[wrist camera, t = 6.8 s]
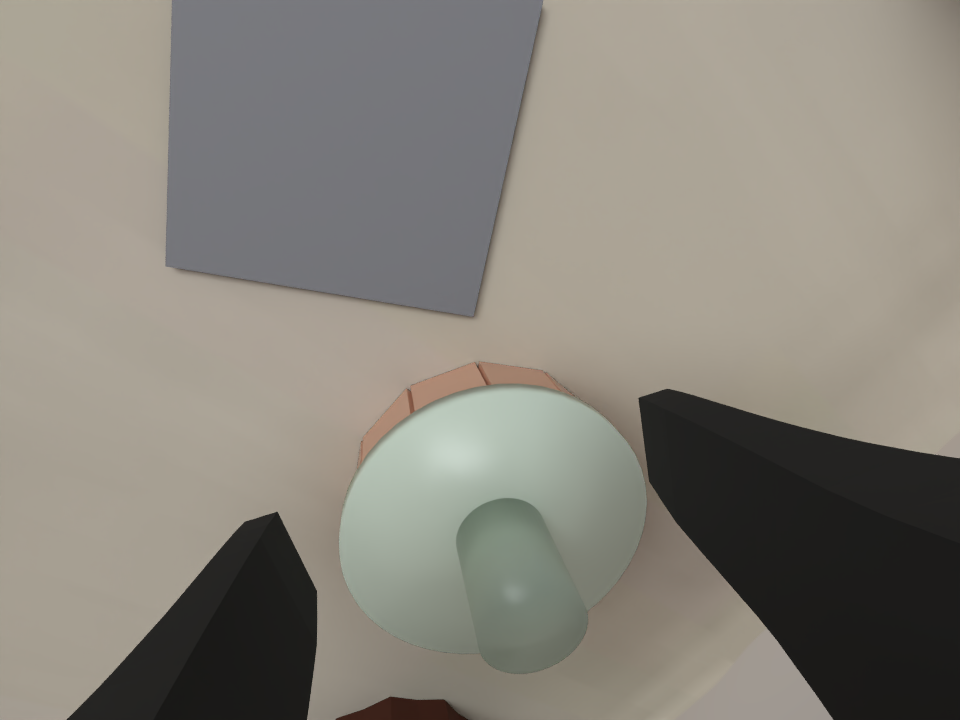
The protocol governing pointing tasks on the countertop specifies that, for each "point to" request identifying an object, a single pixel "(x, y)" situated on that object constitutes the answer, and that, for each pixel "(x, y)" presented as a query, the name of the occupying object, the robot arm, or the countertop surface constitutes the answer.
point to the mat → (344, 142)
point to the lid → (493, 524)
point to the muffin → (406, 710)
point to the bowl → (448, 385)
